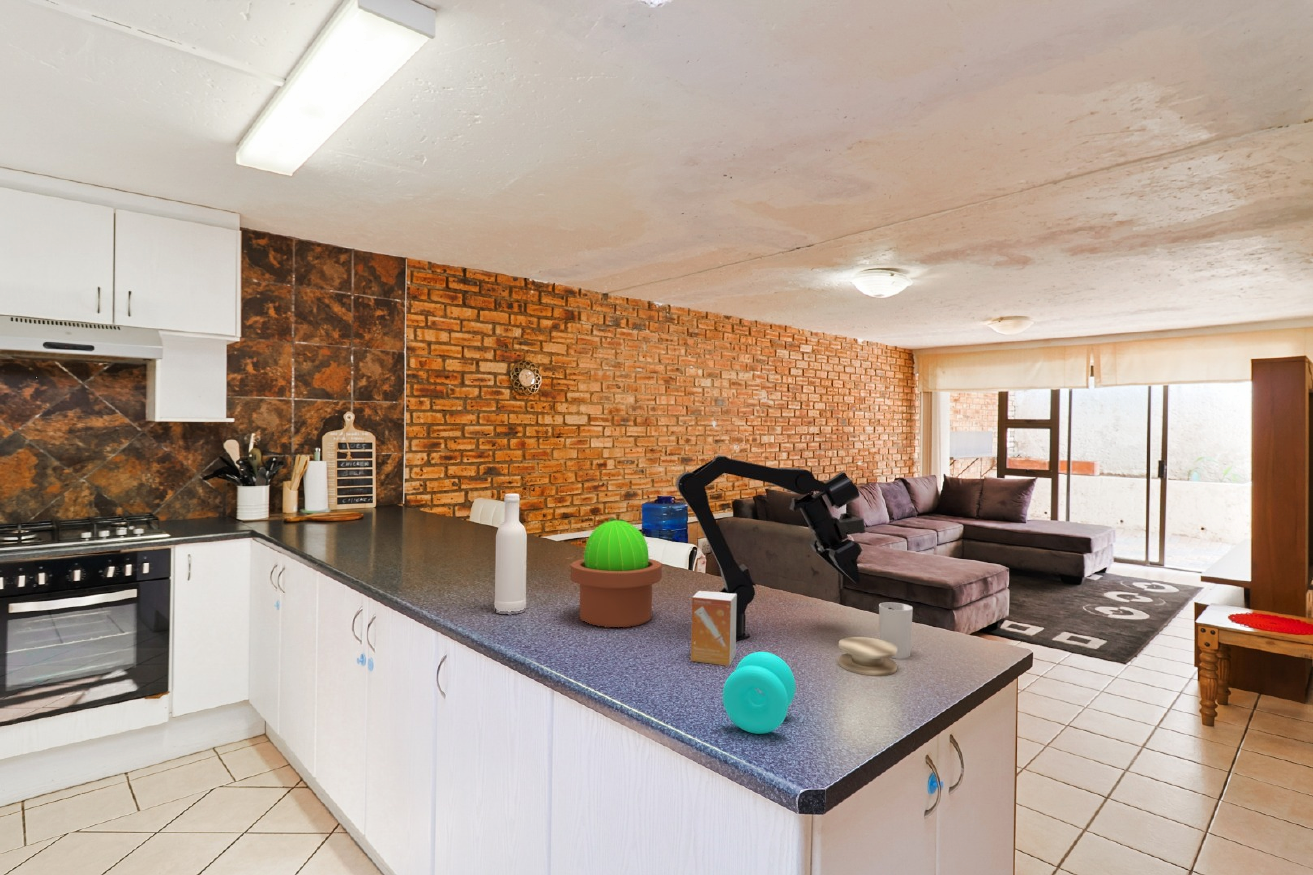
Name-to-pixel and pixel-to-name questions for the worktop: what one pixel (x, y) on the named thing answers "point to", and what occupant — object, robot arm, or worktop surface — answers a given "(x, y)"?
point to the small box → (713, 627)
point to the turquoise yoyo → (748, 702)
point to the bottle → (511, 559)
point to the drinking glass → (896, 626)
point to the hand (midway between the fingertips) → (851, 578)
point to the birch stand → (867, 656)
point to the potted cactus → (616, 576)
